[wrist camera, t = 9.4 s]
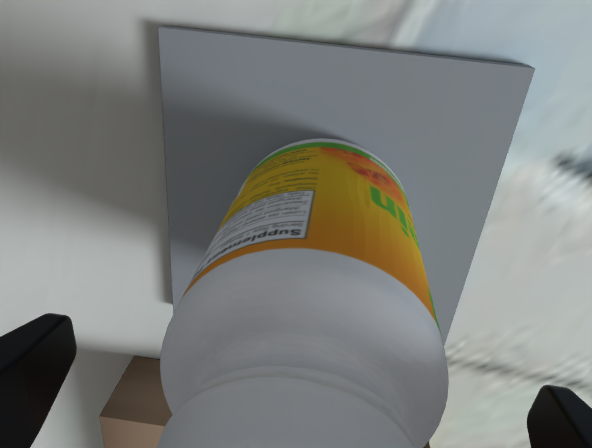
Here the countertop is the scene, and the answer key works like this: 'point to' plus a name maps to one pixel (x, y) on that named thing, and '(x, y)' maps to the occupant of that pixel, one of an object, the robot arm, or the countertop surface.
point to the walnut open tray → (138, 408)
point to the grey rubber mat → (336, 134)
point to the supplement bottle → (308, 315)
